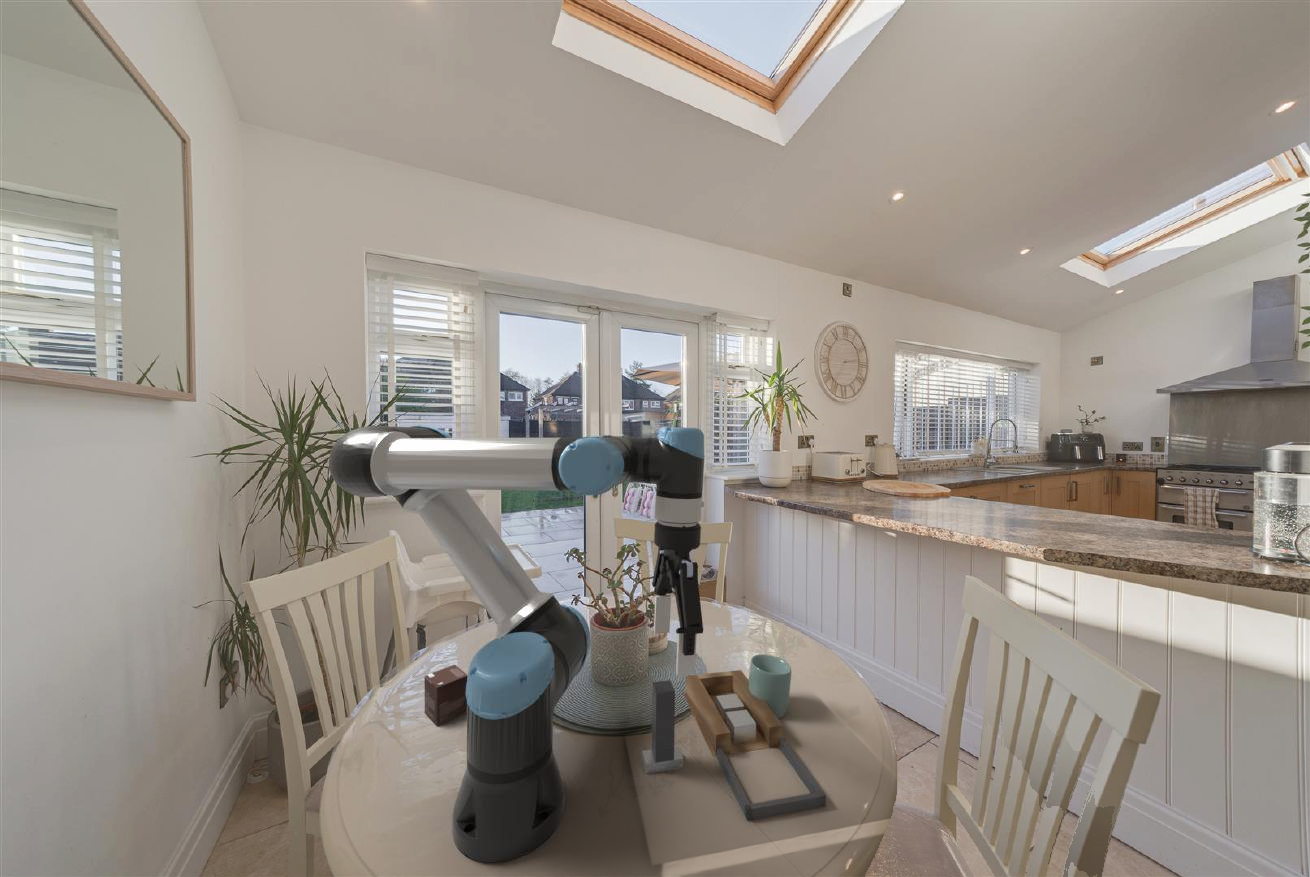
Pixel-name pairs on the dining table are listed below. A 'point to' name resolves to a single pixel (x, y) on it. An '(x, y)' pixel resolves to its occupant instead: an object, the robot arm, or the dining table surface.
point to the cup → (770, 682)
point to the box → (445, 694)
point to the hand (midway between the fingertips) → (672, 651)
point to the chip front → (741, 726)
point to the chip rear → (728, 704)
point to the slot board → (711, 723)
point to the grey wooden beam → (662, 731)
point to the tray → (778, 805)
